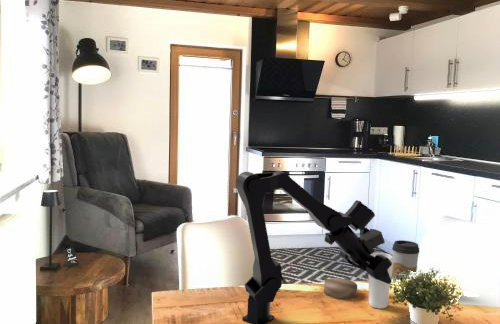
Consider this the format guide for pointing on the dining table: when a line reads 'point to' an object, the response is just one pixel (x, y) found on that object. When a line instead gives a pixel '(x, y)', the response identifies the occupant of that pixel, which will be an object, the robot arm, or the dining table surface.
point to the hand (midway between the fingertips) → (380, 277)
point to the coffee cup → (404, 257)
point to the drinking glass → (379, 287)
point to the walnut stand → (340, 288)
